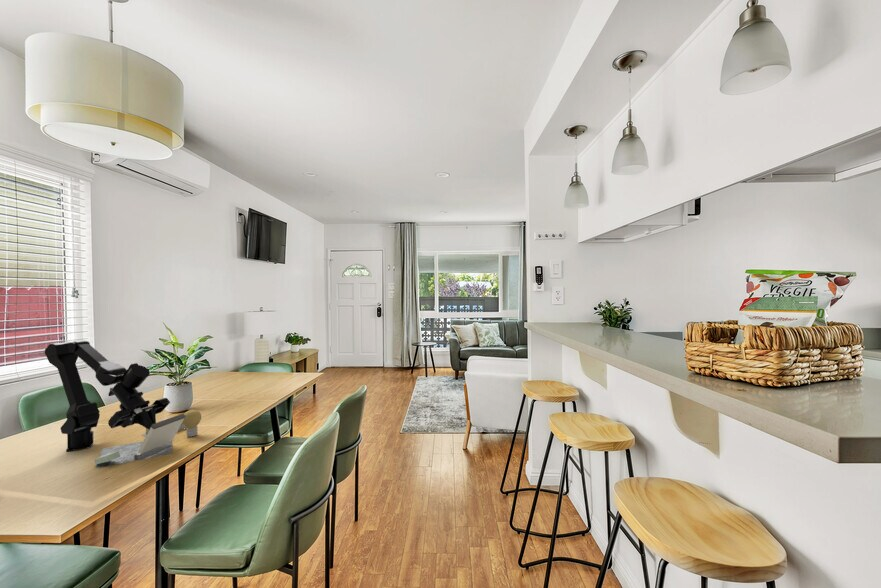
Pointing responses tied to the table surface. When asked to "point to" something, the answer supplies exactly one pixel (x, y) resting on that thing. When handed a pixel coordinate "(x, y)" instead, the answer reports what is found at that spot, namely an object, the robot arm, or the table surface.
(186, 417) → the light bulb
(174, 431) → the beige square plate
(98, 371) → the robot arm
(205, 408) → the table surface
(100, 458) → the rocker
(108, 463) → the panel
